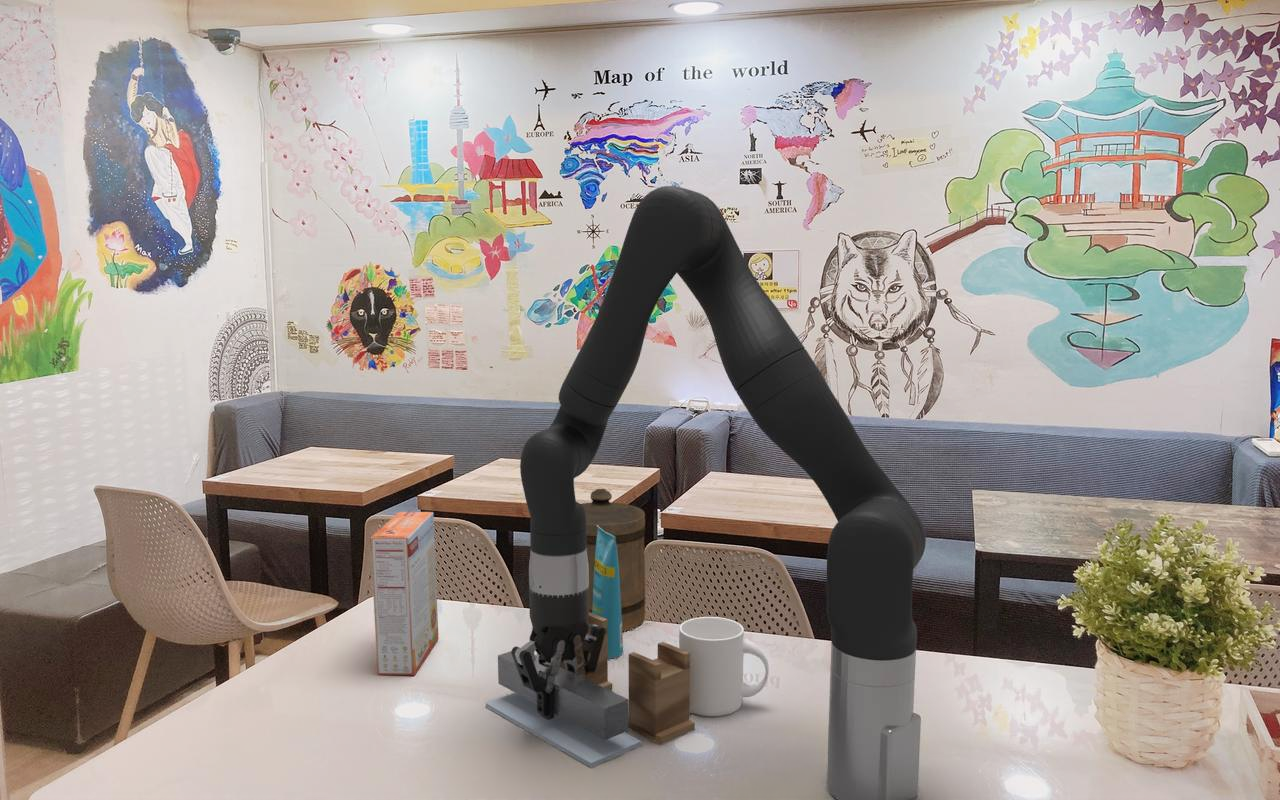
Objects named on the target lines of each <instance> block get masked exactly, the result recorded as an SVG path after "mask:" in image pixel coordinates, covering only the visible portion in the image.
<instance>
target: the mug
mask: <svg viewBox="0 0 1280 800" xmlns="http://www.w3.org/2000/svg"><path fill="white" fill-rule="evenodd" d="M678 627H679V632H678V633H679V634H678V635H679V636H678V641H679V642H678V648H680V649H682V650H685V651H687V652H689V653H690V707H689V713H692V714H694V715H697V716H703V717H721V716H722V717H723V716H727V715H730V714H732V713H734V712H736V711H737V710H739V709H740V707H741V706H742V704H743V698H750V697H754V696H755V695H757V694H759V693H760V692H761V691H762V690H763V689H764V688H765V687H766V684H767V682H768V678H769V673H770V672H769V670H770V669H769V667H770V666H769V662H768V661H769V660H768V658H767V656H766V654H765V652H764V651H763V650H762V649H761V648H760V647H759V646H758V645H757V644H755V643H754V642H752V641H751V640H749V639H747V638H746V637H744V636H745V635H744V634H745V631H744V630H745V629H744V627H743V625H742V624H741V623H740V622H738V621H735V620H733V619H729V618H725V617H717V616H702V617H700V616H699V617H694V618H690V619H687V620H685V621H683V622H682V623H681V624H680V625H679V626H678ZM744 654H749V655H753V656H755V657H757V658H759V660H761V662H762V664H763V666H764V668H765V672H764V673H765V674H764V677H763V679H762V680H761V681H760V682H759V683H757V684H753V685H752V684H748V683H746V682H744Z"/></svg>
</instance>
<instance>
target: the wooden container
mask: <svg viewBox="0 0 1280 800" xmlns="http://www.w3.org/2000/svg"><path fill="white" fill-rule="evenodd" d="M611 499H612V493H611V492H610V491H608V490H607V489H606V488H597V489H594V490H593V491H591V493H590V500H591V502H585V503H580V504H581V505H582V506H583V508H584V510H585V514H586V545H587V546H586V548H587V557H588V564H589V612H590V613H592V609H593V585H594V565H595V552H596V541H597V532H598V527H597V525H598V526H599V527H600V528H601V529H602V530H603V531H605V532H607V533H609V534H611V535H613V536H614V537H615V540H616V546H617V554H618V565H619V578H620V596H621V614H622V633H624V632H627V631H630V630H634V629H635V628H637V627H639V626H641V625H642V624H643V623H644V621H645V617H646V566H645V565H646V564H645V563H646V562H645V561H646V560H645V558H646V556H645V531H646V529H645V528H646V513H645V511H644V510H643V509H641V508H640V507H637V506H635V505H632V504H626V503H621V502H610V501H611Z"/></svg>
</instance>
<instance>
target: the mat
mask: <svg viewBox="0 0 1280 800" xmlns="http://www.w3.org/2000/svg"><path fill="white" fill-rule="evenodd" d="M485 708H487V709H489V710H490V711H492V712H494V713H496V714H497V715H499V716H501V717H503V718H504V719H506V720H508V721H509V722H511V723H512V724H514V725H516V726H518V727H520V728H521V729H523V730H524V731H527V733H530V734H531V735H533V736H535V737H537V738H538V739H541V740H542V741H544V742H545V743H548V744H549V745H550V746H553V747H554V748H556V749H558V750H559V751H562V752H563V753H564V754H567V755H568V756H570V757H572V758H574V760H577V761H578V762H581V763H582V764H583V765H586V766H587V767H589V768H594V767H597V766H598V765H601V764H603V763H605V762H607V761H610V760H612V759H614V758H617V757H619V756H621V755H623V754H626V753H628V752H631V751H633V750H635V749H637V748H640V747H641V746H642V741H640V739H637V738H635V737H633V736H632V735H629V734H627V733H626V732H624V733H621V734H619V735H617V736H614V737H612V738H610V739H607V740H603V739H601V738H599V737H597V736H595V735H594V734H592V733H590V732H588V731H586V730H584V729H582V728H580V727H579V726H577V725H575V724H573V723H571V722H569V721H567V720H565V719H564V718H562V717H560V716H558V715H556V714H554V718H553V719H550V720H547V719H545V718H543V717H542V716H541V715H540V714H539V713H538V711H537V704H536V703H534V702H532V701H530V700H528V699H526V698H524V697H522V696H521V695H519V694H517V693H515V692H512V693H510V694H507V695H504V696H501V697H498V698H495V699H492V700H490V701H486V702H485Z"/></svg>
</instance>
